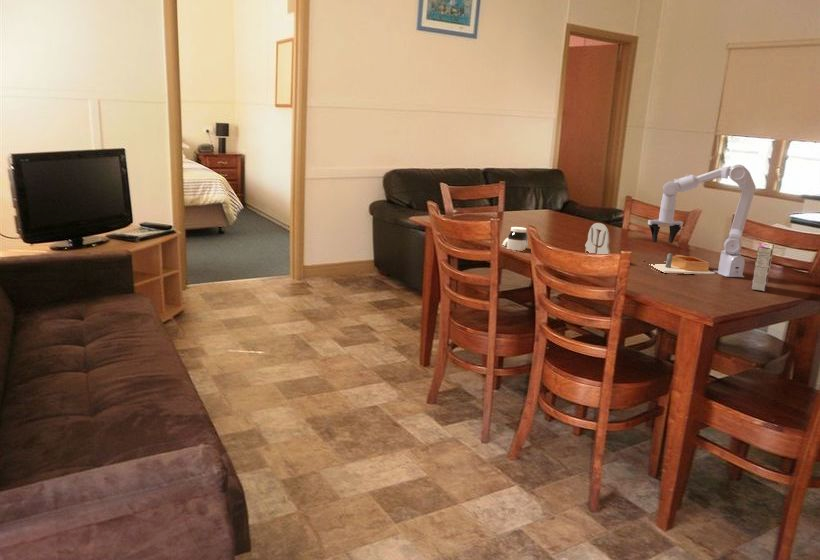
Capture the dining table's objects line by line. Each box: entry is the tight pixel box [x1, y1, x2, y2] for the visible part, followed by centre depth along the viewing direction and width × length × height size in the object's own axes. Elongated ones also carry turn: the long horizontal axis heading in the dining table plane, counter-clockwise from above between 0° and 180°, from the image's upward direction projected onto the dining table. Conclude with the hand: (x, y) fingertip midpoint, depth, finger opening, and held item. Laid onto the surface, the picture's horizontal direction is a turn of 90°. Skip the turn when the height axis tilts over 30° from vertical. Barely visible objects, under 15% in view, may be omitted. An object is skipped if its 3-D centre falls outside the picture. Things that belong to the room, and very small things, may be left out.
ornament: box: [584, 222, 611, 255], centre depth 266 cm, size 22×13×17 cm, turn 15°
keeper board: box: [649, 252, 716, 275], centre depth 261 cm, size 20×22×7 cm
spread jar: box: [502, 226, 529, 250], centre depth 276 cm, size 12×11×12 cm
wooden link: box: [671, 254, 710, 271], centre depth 262 cm, size 15×10×4 cm, turn 6°
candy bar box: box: [750, 242, 775, 292], centre depth 234 cm, size 11×5×16 cm, turn 148°
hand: (662, 242), depth 264 cm, fingers open, 7 cm apart
